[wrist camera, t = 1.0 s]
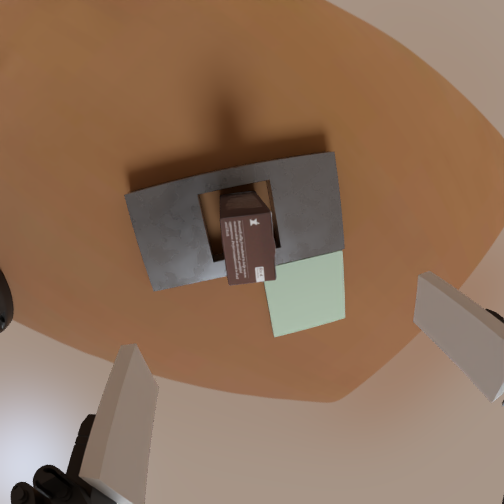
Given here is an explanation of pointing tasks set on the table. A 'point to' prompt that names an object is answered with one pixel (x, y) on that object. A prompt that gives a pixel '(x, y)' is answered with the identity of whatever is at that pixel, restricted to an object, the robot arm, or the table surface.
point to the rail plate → (273, 171)
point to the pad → (306, 293)
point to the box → (247, 238)
